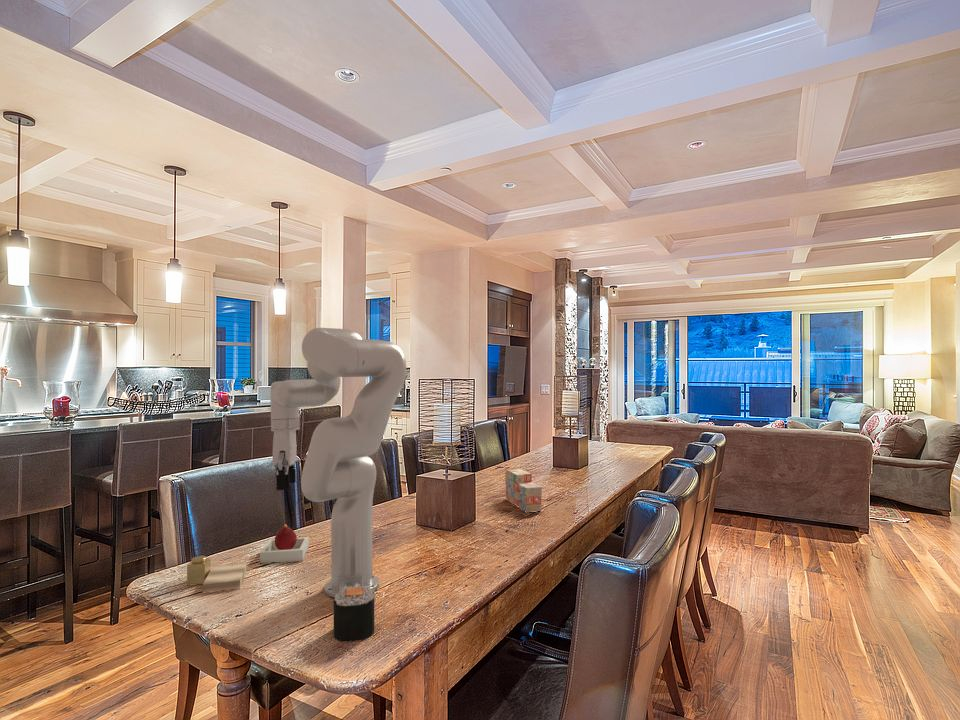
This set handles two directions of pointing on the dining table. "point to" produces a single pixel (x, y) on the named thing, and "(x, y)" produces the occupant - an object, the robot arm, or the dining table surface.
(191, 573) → the bench dog
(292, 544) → the onion
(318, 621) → the dining table surface
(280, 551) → the ceramic dish
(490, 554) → the dining table surface
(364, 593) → the sushi
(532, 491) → the stack of blocks
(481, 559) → the dining table surface
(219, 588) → the maple board
